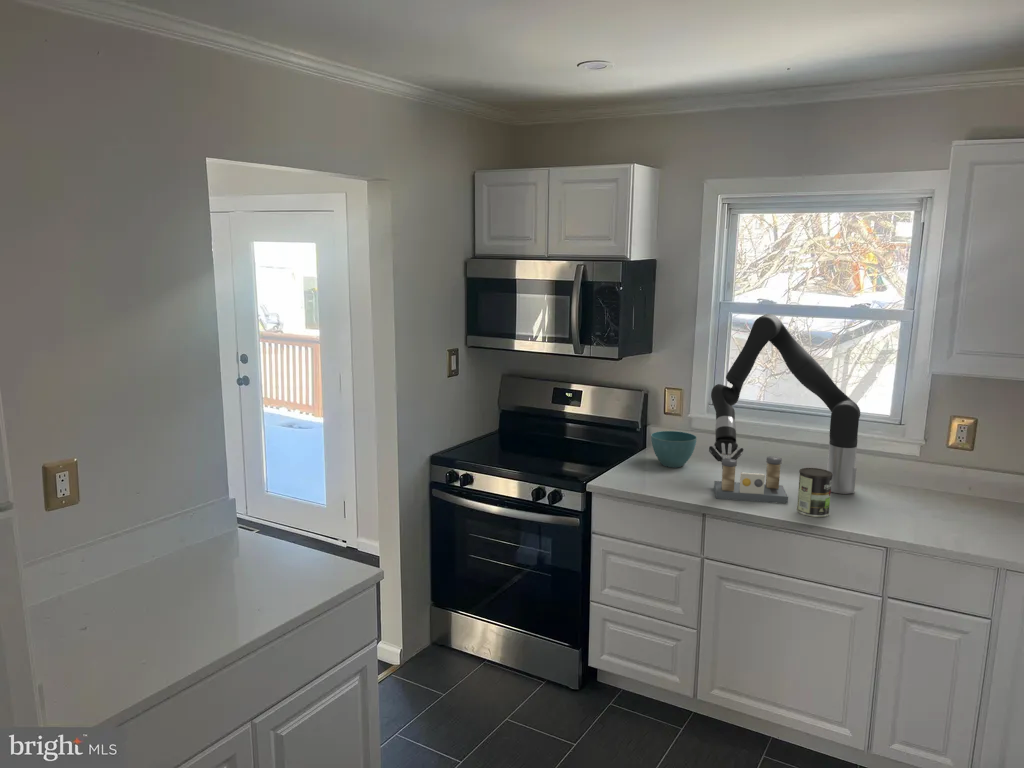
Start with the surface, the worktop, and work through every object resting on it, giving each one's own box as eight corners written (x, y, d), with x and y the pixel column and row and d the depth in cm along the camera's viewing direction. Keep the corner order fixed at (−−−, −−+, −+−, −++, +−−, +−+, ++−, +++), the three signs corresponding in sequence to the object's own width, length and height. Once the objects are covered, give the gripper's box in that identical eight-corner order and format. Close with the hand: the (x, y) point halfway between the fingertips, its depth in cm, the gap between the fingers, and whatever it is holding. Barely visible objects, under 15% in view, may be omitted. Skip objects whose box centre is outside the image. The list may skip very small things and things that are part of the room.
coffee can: (832, 511, 249) (836, 471, 247) (824, 519, 241) (828, 478, 239) (801, 504, 255) (804, 465, 253) (792, 512, 247) (795, 472, 245)
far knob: (734, 487, 265) (736, 458, 263) (735, 491, 260) (737, 462, 258) (719, 486, 266) (721, 457, 264) (720, 490, 261) (722, 461, 259)
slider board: (781, 492, 269) (783, 466, 267) (787, 503, 256) (789, 477, 255) (714, 487, 274) (715, 462, 272) (716, 498, 261) (717, 472, 260)
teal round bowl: (641, 461, 307) (642, 433, 305) (676, 456, 315) (678, 429, 312) (667, 473, 291) (669, 443, 289) (704, 468, 298) (706, 438, 296)
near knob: (778, 485, 268) (780, 456, 266) (780, 489, 263) (782, 460, 261) (763, 483, 269) (765, 455, 268) (765, 488, 264) (767, 459, 262)
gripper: (708, 424, 279) (708, 464, 269) (744, 426, 276) (746, 467, 266) (706, 434, 285) (707, 474, 275) (742, 436, 282) (743, 476, 273)
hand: (726, 470), depth 271 cm, fingers closed
